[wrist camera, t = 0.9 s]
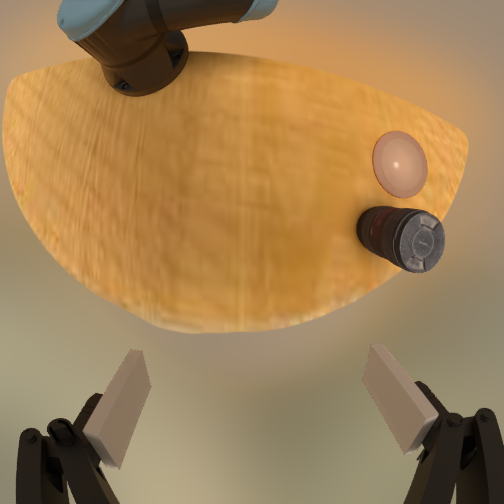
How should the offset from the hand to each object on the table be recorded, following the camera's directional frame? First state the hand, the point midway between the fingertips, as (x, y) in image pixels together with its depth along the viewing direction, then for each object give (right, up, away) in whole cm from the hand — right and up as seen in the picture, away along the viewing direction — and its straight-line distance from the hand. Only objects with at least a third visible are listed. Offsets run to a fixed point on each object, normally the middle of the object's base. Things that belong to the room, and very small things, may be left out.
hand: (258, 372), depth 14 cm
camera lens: (+20, +11, +29) cm, 37 cm away
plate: (+26, +22, +27) cm, 43 cm away
